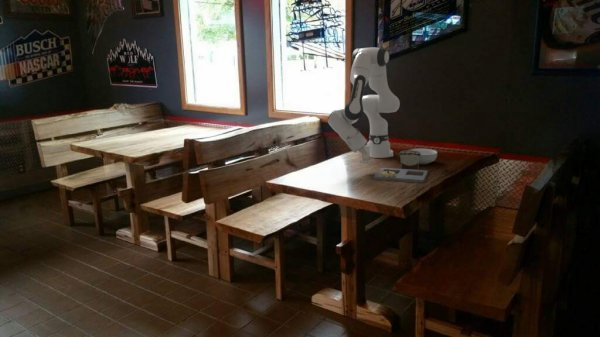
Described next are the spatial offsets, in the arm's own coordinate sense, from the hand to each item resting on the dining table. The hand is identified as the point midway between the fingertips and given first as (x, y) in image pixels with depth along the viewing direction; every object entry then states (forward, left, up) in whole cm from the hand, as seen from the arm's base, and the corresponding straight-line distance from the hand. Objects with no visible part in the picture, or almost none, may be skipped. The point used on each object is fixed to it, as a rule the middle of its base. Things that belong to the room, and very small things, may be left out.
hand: (367, 153), depth 273 cm
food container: (-17, +21, -11) cm, 29 cm away
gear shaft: (0, -1, -5) cm, 5 cm away
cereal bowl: (-32, +26, -12) cm, 43 cm away
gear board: (+2, +19, -11) cm, 22 cm away
